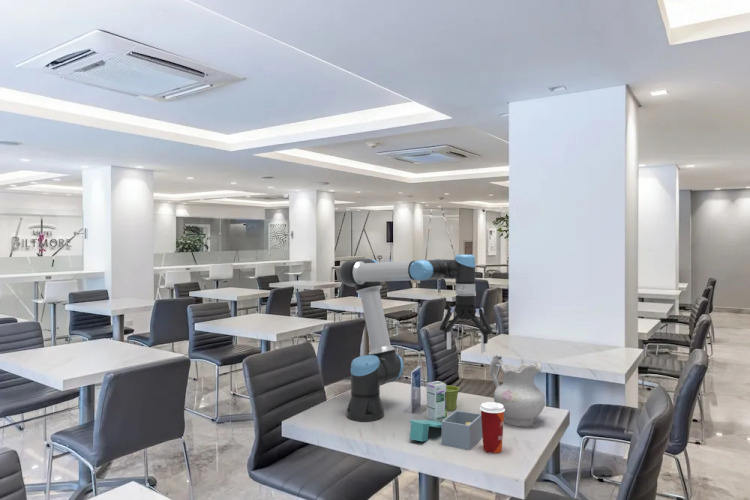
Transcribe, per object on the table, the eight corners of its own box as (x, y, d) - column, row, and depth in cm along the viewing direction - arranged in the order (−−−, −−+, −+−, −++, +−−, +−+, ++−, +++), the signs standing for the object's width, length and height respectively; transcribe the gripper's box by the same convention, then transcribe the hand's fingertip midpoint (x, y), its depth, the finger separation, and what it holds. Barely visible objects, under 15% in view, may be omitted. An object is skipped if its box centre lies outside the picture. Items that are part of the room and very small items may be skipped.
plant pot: (442, 412, 210) (441, 391, 210) (434, 406, 219) (434, 386, 219) (463, 411, 212) (463, 390, 212) (454, 404, 221) (454, 384, 221)
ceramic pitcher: (482, 426, 197) (480, 363, 195) (495, 408, 214) (493, 350, 212) (540, 435, 187) (539, 369, 185) (548, 416, 204) (548, 355, 202)
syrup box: (435, 422, 198) (435, 385, 198) (426, 418, 203) (426, 382, 203) (447, 419, 201) (446, 383, 201) (437, 415, 206) (437, 380, 206)
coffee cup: (508, 454, 167) (508, 408, 167) (484, 455, 166) (483, 409, 166) (500, 444, 175) (500, 401, 175) (476, 445, 175) (476, 401, 175)
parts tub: (469, 450, 170) (469, 426, 171) (441, 444, 175) (441, 421, 176) (482, 436, 183) (482, 414, 183) (456, 432, 188) (456, 410, 188)
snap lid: (429, 443, 173) (431, 425, 175) (401, 437, 179) (403, 420, 180) (453, 440, 193) (454, 424, 194) (427, 435, 198) (429, 419, 199)
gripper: (431, 294, 197) (431, 349, 197) (494, 296, 185) (495, 355, 185) (438, 293, 204) (439, 346, 204) (500, 295, 191) (501, 351, 191)
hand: (465, 350), depth 194 cm, fingers open, 13 cm apart
